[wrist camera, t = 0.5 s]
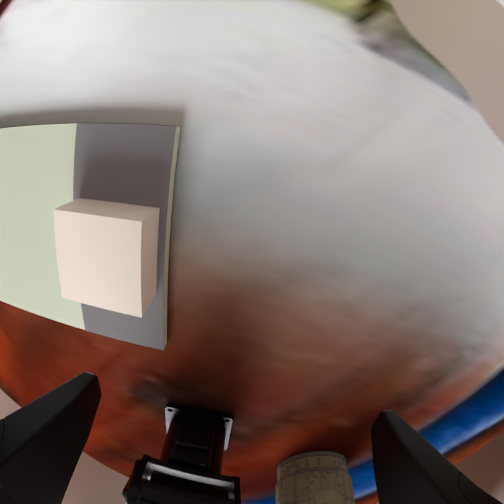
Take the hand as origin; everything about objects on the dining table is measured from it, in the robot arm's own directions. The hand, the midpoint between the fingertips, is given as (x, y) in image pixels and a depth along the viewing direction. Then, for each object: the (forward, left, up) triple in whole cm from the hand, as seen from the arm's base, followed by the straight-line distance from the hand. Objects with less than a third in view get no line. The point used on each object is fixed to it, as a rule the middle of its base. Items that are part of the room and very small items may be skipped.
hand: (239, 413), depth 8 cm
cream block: (-1, +9, -12) cm, 15 cm away
